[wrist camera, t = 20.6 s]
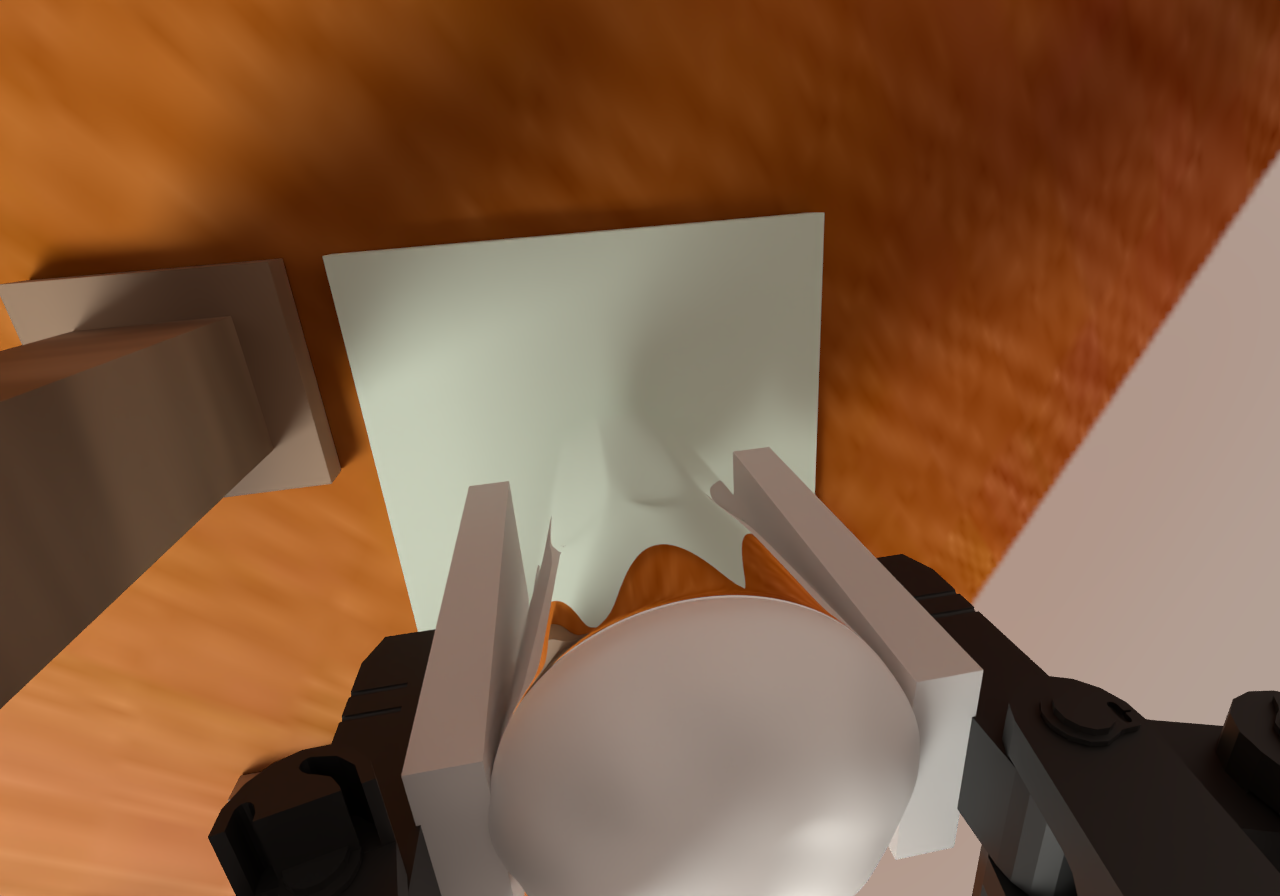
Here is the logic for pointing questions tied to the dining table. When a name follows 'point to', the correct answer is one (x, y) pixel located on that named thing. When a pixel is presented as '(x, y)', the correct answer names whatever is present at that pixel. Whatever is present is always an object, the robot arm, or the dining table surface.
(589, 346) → the mat
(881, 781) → the milkshake
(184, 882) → the dining table surface
